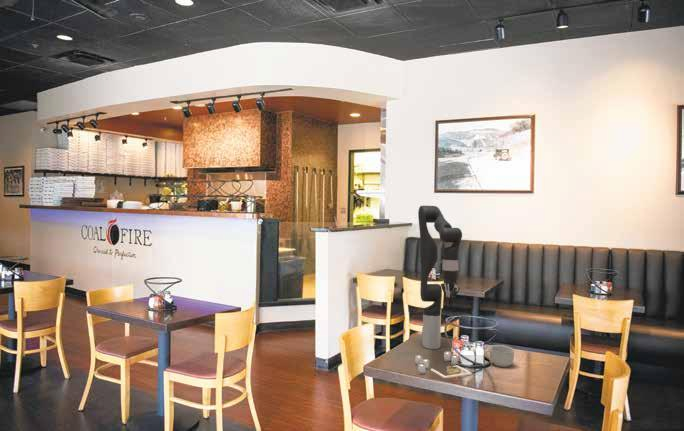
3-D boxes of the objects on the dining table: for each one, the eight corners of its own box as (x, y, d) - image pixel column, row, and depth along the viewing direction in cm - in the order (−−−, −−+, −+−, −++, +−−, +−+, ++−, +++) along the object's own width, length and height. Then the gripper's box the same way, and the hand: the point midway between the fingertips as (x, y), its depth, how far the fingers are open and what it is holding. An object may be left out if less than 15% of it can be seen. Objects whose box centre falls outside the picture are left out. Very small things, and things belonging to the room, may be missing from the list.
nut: (444, 373, 216) (444, 367, 216) (449, 370, 220) (449, 364, 220) (456, 376, 213) (456, 370, 213) (460, 373, 217) (460, 367, 217)
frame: (430, 370, 220) (430, 368, 220) (457, 366, 225) (457, 365, 225) (444, 378, 209) (444, 377, 209) (471, 374, 215) (472, 373, 215)
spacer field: (404, 364, 227) (404, 356, 227) (455, 358, 237) (455, 350, 237) (420, 374, 214) (420, 366, 214) (473, 367, 224) (473, 358, 224)
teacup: (510, 361, 233) (511, 345, 232) (516, 369, 222) (517, 352, 222) (481, 360, 234) (481, 344, 234) (485, 368, 223) (485, 351, 223)
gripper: (465, 270, 228) (464, 307, 229) (449, 267, 241) (448, 301, 241) (451, 271, 225) (451, 308, 226) (436, 267, 238) (435, 302, 238)
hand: (449, 304), depth 233 cm, fingers closed
